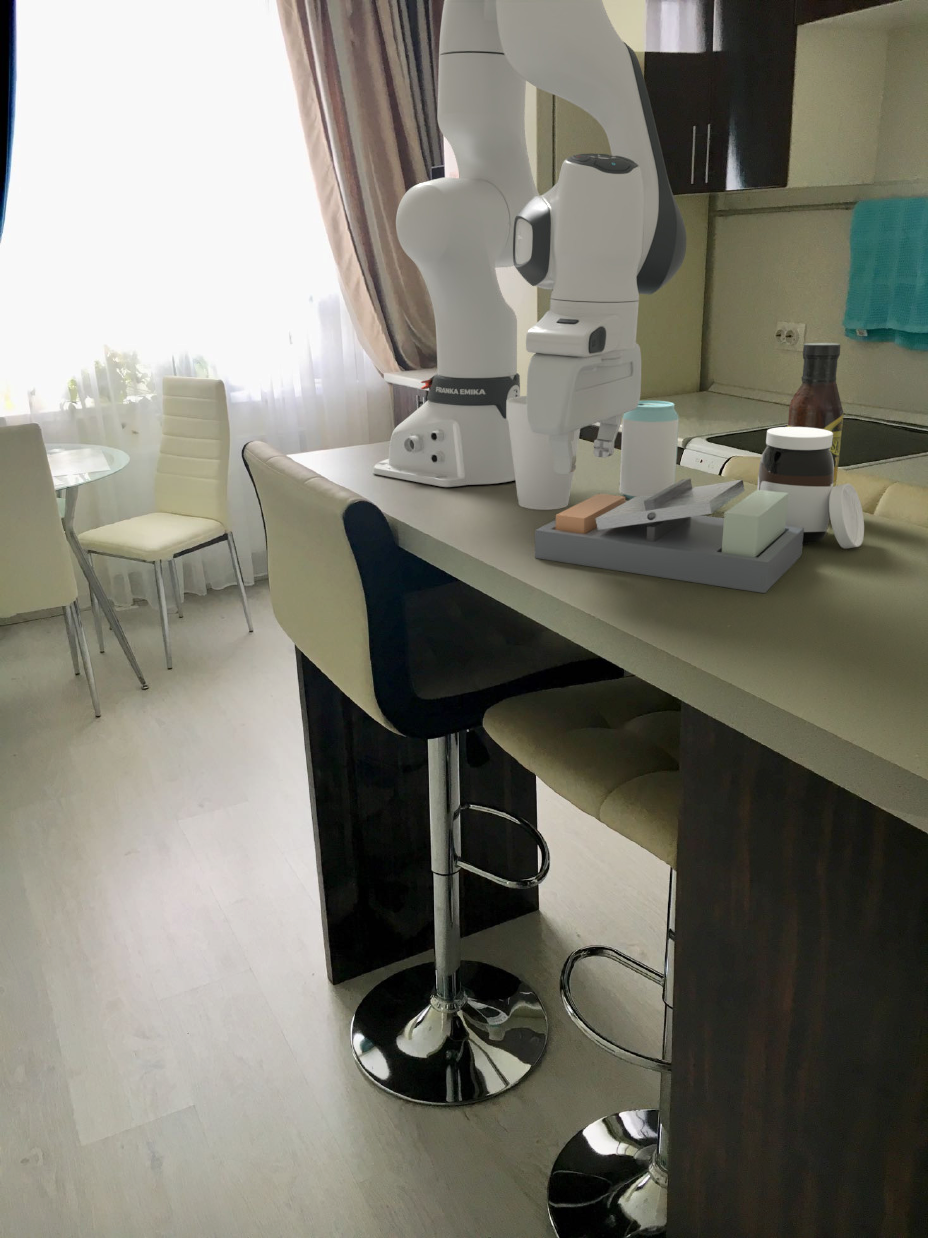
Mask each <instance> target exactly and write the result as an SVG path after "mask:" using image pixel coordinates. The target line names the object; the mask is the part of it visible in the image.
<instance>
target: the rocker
mask: <svg viewBox="0 0 928 1238" xmlns="http://www.w3.org/2000/svg"><path fill="white" fill-rule="evenodd" d="M745 490H746V489H745V485H744V479H738V480H731V481H725V482H720V483H719V482H718V483H712V484H707V485H706V484H705V485H700V486H693V485H692V479H691V478H685V479H681V480H678V481H677V482H675V484H673V485H671V486H670V487H668V488H666V489H664V490H663V491H661V492H659V493H655V494H649V495H643V496H636V497H634V498H632V499H628V500H627V501H625V503H623V504H621V505H619V506H618V507H616V508H614V509H612V510H610V511H608V512H607V513H605V514H603V515H601V516H599V517H597V518H595V519H596V523H597V528H598V530H601V529H608V528H615V527H622V526H629V525H636V524H643V523H650V522H657V521H663V520H670V519H677V518H684V517H691V516H698V515H701V516H706V515H711V514H714V512H716V511H717V510H719V509H720V508H722V507H723V506H725V505H726V504H727V503H729V502H731V501H732V500H733V499H734V498H736V497H739V495H741V494H743V492H745Z"/></svg>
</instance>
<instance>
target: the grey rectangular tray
mask: <svg viewBox="0 0 928 1238" xmlns="http://www.w3.org/2000/svg"><path fill="white" fill-rule="evenodd" d="M723 527H724V517H717V516H716V517H715V516H708V515H698V516H691V517H684V518H677V519H670V520H663V521H657V522H650V523H643V524H636V525H629V526H622V527H615V528H608V529H601V530H598V528H595V529H594V530H592V531H590V532H588V533H587V534H582V533H575V532H568V531H560V530H556V519H554V520H553V521H550V522H549V523H547V524H544V525H542V526H541V527H539V528H537V529H535V530H534V531H535V532H534V533H535V535H534V558H535V559H541V560H546V561H553V562H559V563H565V564H573V565H579V566H585V567H592V568H598V569H605V570H612V571H619V572H625V573H630V574H631V573H633V574H638V575H644V576H649V577H650V576H651V577H657V578H664V579H670V580H677V581H683V582H689V583H695V584H696V583H697V584H702V585H710V586H714V587H715V586H716V587H723V588H729V589H734V590H742V591H748V592H754V593H763V594H766V593H767V592H768V590H769V589H771V587H772V586H774V584H775V583H776V582H777V581H778V580H779V579H780V578H781V577H782V576H784V574H785V573H786V572H787V571H788V570H789V569H790V568H791V567H792V566H793V565H794V564H795V563H796V562H797V561H798V559H800V557H801V556H802V553H803V544H802V543H803V534H804V528H801V527H793V526H785V531H784V532H783V533H782V534H781V535H780V536H779V537H778V538H776V539H775V540H774V541H773V542H772V543H771V544H770V545H769V546H768V547H766V548H765V549H764V550H763V551H762V552H761V553H760V554H759V555H758V556H756V557H750V556H743V555H736V554H728V553H721V552H722V540H723Z"/></svg>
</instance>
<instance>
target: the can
mask: <svg viewBox="0 0 928 1238" xmlns="http://www.w3.org/2000/svg"><path fill="white" fill-rule="evenodd" d="M675 406H676V405H675V403H674V402H670V401H666V400H639V403H638V406H637V408H636V409H635V410H632V411H629V412H626V413H623V414H622V420H621V423H622V424H621V425H622V426H621V447H620V468H619V469H620V470H619V473H620V475H619V492H620V494H622V496H624V497H625V498H626V499H628V500H631V499H632V498H634V497H636V496H643V495H649V494H655V493H659V492H661V491H663V490H664V489H666V488H668V487H670V486H671V485H673V484H675V483H676V472H677V469H676V468H677V457H678V443H679V424H680V417H679V414H678V412H677V411H676V409H675Z"/></svg>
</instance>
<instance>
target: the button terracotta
mask: <svg viewBox="0 0 928 1238" xmlns="http://www.w3.org/2000/svg"><path fill="white" fill-rule="evenodd" d="M625 502H626V496H625V495H614V494H603V493H598V494H595V495H593V496H591V497H589V498H587V499H585V500H583V501H581V502H578V503H577V504H574V505H573V506H571V507H569V508H567V509H565V510H563V511H561V512H559V513H557V514H555V520H556V530H560V531H568V532H575V533H582V534H587V533H588V532H590V531H592V530H594V529H595V528H597V523H596V519H595V518H597V517H599V516H601V515H603V514H605V513H607V512H608V511H610V510H612V509H614V508H616V507H618V506H619V505H621V504H623V503H625Z"/></svg>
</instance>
